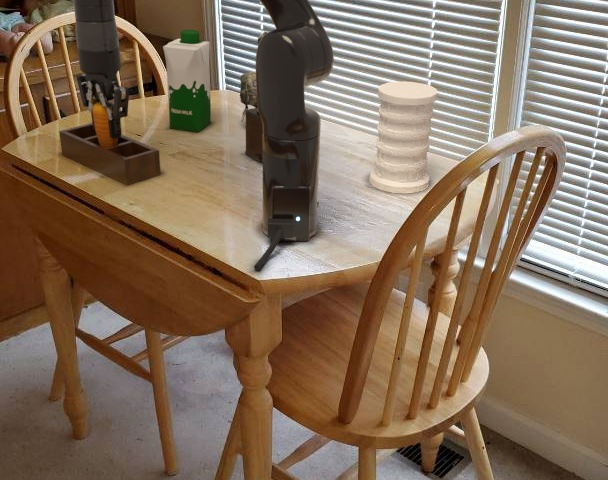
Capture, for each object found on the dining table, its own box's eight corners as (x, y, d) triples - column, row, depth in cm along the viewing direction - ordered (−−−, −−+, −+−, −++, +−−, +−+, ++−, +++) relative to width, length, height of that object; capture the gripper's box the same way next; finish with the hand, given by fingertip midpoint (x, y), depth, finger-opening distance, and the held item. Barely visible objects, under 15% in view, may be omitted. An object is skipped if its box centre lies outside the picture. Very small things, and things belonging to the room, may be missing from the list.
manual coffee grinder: (241, 154, 168) (240, 66, 158) (283, 144, 174) (285, 59, 164) (286, 177, 158) (288, 85, 148) (330, 166, 164) (334, 76, 154)
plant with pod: (231, 123, 185) (229, 32, 174) (275, 117, 189) (276, 28, 179) (246, 134, 179) (245, 40, 168) (291, 127, 183) (293, 36, 173)
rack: (127, 185, 152) (124, 160, 150) (62, 154, 165) (58, 131, 162) (160, 174, 157) (159, 150, 155) (95, 145, 170) (92, 122, 167)
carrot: (115, 154, 163) (107, 79, 155) (127, 161, 160) (120, 85, 152) (93, 158, 161) (84, 83, 153) (104, 166, 157) (96, 89, 150)
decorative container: (438, 179, 159) (449, 87, 150) (414, 198, 151) (424, 102, 141) (385, 166, 164) (392, 77, 155) (359, 184, 156) (365, 91, 146)
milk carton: (215, 122, 185) (213, 31, 174) (200, 134, 178) (196, 40, 167) (180, 117, 187) (175, 27, 176) (163, 129, 180) (157, 36, 169)
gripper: (58, 40, 150) (70, 129, 159) (103, 54, 142) (113, 148, 151) (92, 34, 155) (102, 121, 164) (138, 48, 147) (145, 138, 156)
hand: (107, 133), depth 158 cm, fingers closed on carrot, 5 cm apart
